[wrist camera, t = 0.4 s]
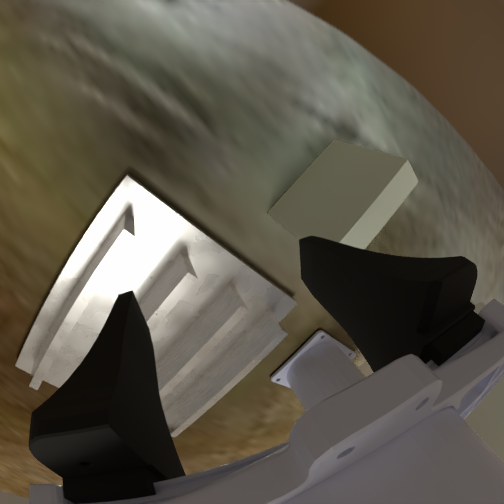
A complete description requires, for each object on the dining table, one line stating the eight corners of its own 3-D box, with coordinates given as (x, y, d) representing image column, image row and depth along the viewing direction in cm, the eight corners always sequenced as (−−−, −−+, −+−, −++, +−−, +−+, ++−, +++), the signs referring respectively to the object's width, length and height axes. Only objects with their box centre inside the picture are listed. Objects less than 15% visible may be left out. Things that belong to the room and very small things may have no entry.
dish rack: (292, 296, 28) (314, 322, 25) (168, 419, 30) (175, 447, 27) (127, 172, 18) (125, 186, 15) (17, 358, 20) (9, 390, 17)
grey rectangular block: (345, 156, 24) (418, 181, 17) (282, 227, 25) (340, 276, 18) (333, 139, 23) (407, 159, 16) (266, 212, 23) (324, 259, 17)
